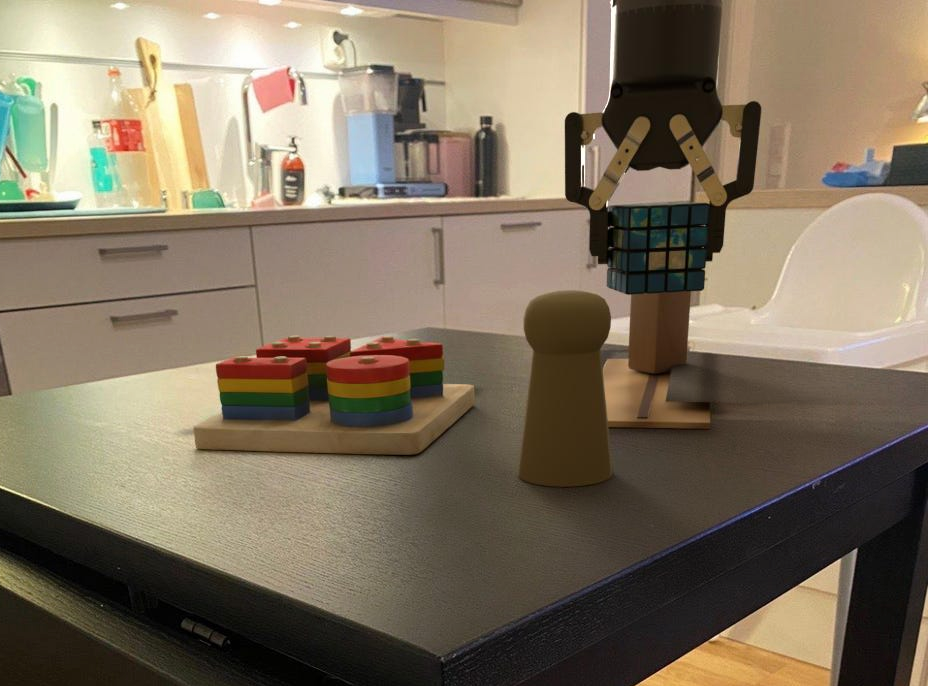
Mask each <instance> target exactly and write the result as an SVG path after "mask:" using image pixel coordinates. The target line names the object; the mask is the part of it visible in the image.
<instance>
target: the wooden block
mask: <svg viewBox="0 0 928 686" xmlns="http://www.w3.org/2000/svg"><path fill="white" fill-rule="evenodd" d="M691 297H692V291H689V292H686V291H683V292H670V293H666V292H663V293H651V294H647V293H644V294H633V295H630V305H629V306H630V307H629V330H628V332H629V333H628V354H627V356H628V357H627V359H628V367H629V369H631V370H636V371H641V372H646V373H651V374H660V373H667V372H671V373H672V368H673V366H680V365H686V364H687V360H688V359H687V358H688V345H689V329H690V328H689V326H690V313H691V312H690V311H691V299H692V298H691Z"/></svg>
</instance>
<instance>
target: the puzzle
mask: <svg viewBox="0 0 928 686" xmlns="http://www.w3.org/2000/svg"><path fill="white" fill-rule="evenodd" d="M709 208H710V205H709V202H693V201H692V202H691V201H689V202H688V201H681V202H680V201H676V202H656V203H655V202H654V203H635V204H634V203H633V204H614V205H610V206H608V211H611V216H610V250H609V263H608V264H606V265H607V266H606V267H608V268H607V269H606V287H607V288H608V289H611V290H613V291H616V292H619V293H622V294H625V295H627V296H631V295H633V294H644V293H647V294H651V293H663V292H666V293H670V292H683V291H686V292H689V291H691V292H702V291H704V290H705V285H706V284H705V281H706V270H705V269H706V267H707V266H706V265H707V262H706V254H707V249H706V248H704V247H707V239H708V226H705V225H708V223H709Z"/></svg>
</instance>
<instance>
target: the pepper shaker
mask: <svg viewBox="0 0 928 686" xmlns="http://www.w3.org/2000/svg"><path fill="white" fill-rule="evenodd" d="M524 310H525V311H524V315H523V319H522V321H523V332H524V337H525V340H526V341H527V343H528V345H529V346H530V348H531V349H532V355H531V363H530V371H529V377H528V378H529V380H528V387H527V395H526V403H525V411H524V419H523V428H522V435H521V444H520V451H519V459H518V467H517V475H518V478H519V479H521V480H523V481H524V482H525V483H530V484H534V485H539V486H545V487H558V488H559V487H560V488H561V487H563V488H565V487H566V488H567V487H568V488H569V487H582V486H590V485H595V484H599V483H603V482H605V481H607V480H609V479H610V478H612V476H613V472H614V470H613V463H612V461H613V459H612V449H611V440H610V432H609V431H610V429H609V427H608V419H607V409H606V399H605V389H604V379H603V361H602V359H603V358H602V351H601V348H602V347H603V346H604V344H605V342H607V340H608V339H609V335H610V331H611V326H612V315H611V310H610V306H609V304H608V303H607V300H606V299H605V298H603V297H602V296H601V295H599V294H597V293H593V292H589V291H584V290H573V289H571V290H569V289H568V290H555V291H551V292H547V293H543V294H540V295H537V296H535V297H534V298H532V299H531V300H530V301H529V302H528V304H527V306H526V307H525V309H524Z"/></svg>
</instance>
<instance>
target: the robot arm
mask: <svg viewBox="0 0 928 686" xmlns="http://www.w3.org/2000/svg"><path fill="white" fill-rule="evenodd" d="M723 5H724V0H610V9H611V22H610V23H611V25H610V26H611V27H610V59H609V60H610V61H609V62H610V63H609V64H610V66H609V69H610V70H609V93H608V100H607V102H606V105H605V106H604V109H603V111H599V112H590V113H589V112H588V113H579V112H576V111H572V112H569V113H567V115H565V118H564V197H565V199H566V200H567V202H570V203H575V204H576V205H577V204H578V205H580V206H582V207H585V208H586V209H587V210H588V213H589V240H588V241H589V242H588V243H589V244H588V245H589V246H588V249H589V253H590V255H591V257H597V265H607V264H608V263H609V250H610V248H611V247H610V227H611V226H610V216H611V211H609V202H610V201H611V199H612V197H613V195H614V194H615V192H616V191H617V189H618V188H619V186H620V184H621V183H622V182H623V180H624V178H625V176H626V175H627V174H628V172H629V170H630V169H632V170H634V171H637V172H644V171H645V172H646V171H648V172H649V171H652V170H656V169H658V168H662V169H666V170H682V169H684V168H686V167H688V166H690V167H691V169H692V171H693V173H694V174H695V177H696V178H697V180H698V182H699V184H700V185H701V188H702V189H703V191H704V193H705V195H706V196H707V197H708V200H709V201H708V204H709V205H710V208H709V223H708V225H704V226H708V239H707V247H703V248H706V249H707V254H706V263H707V262H708V263H709V262H710V263H711V262H713V258H714V254H720V253H721V252H722V249H723V247H724V241H725V226H726V213H727V208H728V206H729V205H730V203H731V202H732V201H735V200H738V199H740V198H742V197H744V196H748V195H750V194H751V193H752V191H753V189H754V186H755V178H756V176H755V175H756V168H757V167H756V165H757V158H758V148H759V136H760V127H761V119H762V105H761V104H760V102H758V101H757V100H752V101H749V102H747V103H745V104H727V105H726V104H725V105H723V104H722V102H721V99H720V98H719V95H718V83H719V82H718V81H719V65H720V52H721V50H720V49H721V39H722V38H721V35H722V23H723V22H722V21H723ZM721 121H723V122H726V124H727V125H728V128H729V134H730V135H731V136H732V137H733V138H735V139H739V145H738V155H737V166H736V176H735V180H733V181H730V182H727V183H725V184H722V182H721V180H720V179H719V176H718V175H717V173H716V171H715V169H714V167H713V165H712V163H711V161H710V160H709V158H708V156H707V154H706V152H705V151H704V149H703V147H704V145H705V144H706V143H707V142H708V140H709V139H710V137H711V136H712V134H713V133H714V132H715V130H716V129H717V127H718V126H719V124H720V123H721ZM601 128H603V130H604V132H605V133H606V135H607V136H608V138H609V139H610V141H611V143H612V144H613V146H614V147H615V149H616V152H615V153H614V155H613V157H612V158H611V160H610V162H609V163H608V165H607V167H606V168H605V170H604V172H603V175H602V176H601V178H600V179H599V182H598V183H597V185H596V186H595V188H594V189H593V188H590V187H587V186H586V146H590V145H591V144H593V142H594V140H595V137H596V133H597V132H598V131H599V129H601Z"/></svg>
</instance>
